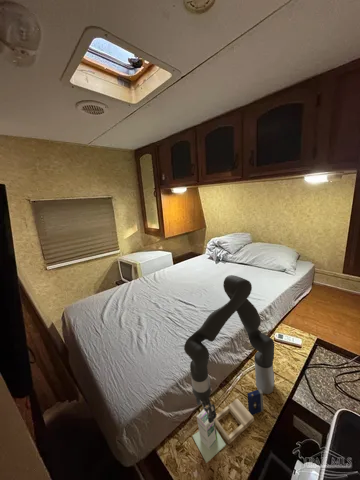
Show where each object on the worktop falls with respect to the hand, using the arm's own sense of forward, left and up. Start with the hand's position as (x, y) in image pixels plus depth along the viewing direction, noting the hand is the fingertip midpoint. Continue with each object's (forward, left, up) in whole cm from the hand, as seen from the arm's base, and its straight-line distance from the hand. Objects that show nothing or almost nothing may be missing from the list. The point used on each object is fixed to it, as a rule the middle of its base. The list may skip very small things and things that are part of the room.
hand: (205, 411), depth 85 cm
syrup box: (0, 0, -17) cm, 17 cm away
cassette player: (-27, +4, -18) cm, 33 cm away
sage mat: (0, 0, -18) cm, 18 cm away
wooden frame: (-15, +1, -18) cm, 23 cm away
